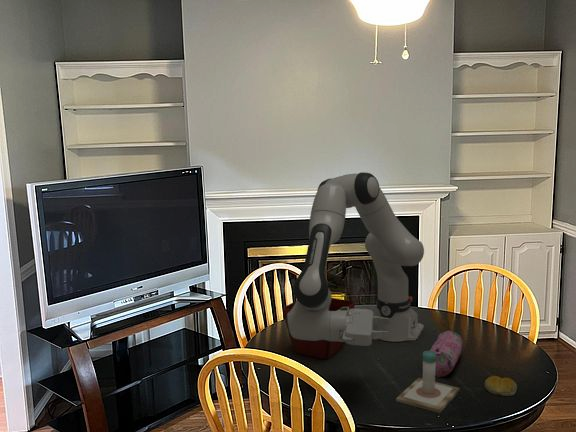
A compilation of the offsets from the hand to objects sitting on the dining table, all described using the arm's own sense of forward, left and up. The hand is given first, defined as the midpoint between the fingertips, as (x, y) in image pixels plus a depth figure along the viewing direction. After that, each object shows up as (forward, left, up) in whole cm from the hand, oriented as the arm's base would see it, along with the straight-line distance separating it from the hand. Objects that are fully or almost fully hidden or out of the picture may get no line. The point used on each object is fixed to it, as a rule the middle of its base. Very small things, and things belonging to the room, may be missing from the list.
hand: (388, 327), depth 177 cm
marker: (-5, +11, -19) cm, 22 cm away
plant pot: (-17, -34, -21) cm, 43 cm away
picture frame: (-5, +11, -20) cm, 24 cm away
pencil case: (-28, +7, -21) cm, 36 cm away
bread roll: (-20, +27, -21) cm, 40 cm away
